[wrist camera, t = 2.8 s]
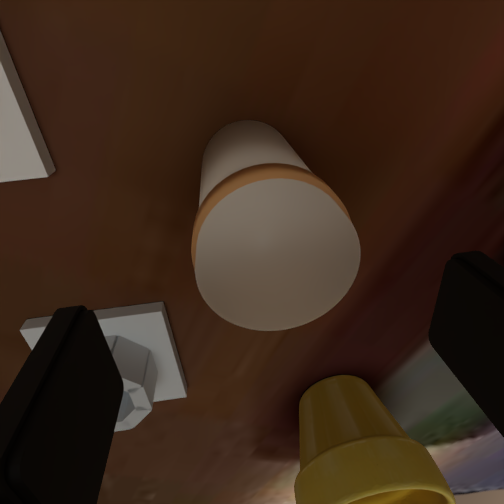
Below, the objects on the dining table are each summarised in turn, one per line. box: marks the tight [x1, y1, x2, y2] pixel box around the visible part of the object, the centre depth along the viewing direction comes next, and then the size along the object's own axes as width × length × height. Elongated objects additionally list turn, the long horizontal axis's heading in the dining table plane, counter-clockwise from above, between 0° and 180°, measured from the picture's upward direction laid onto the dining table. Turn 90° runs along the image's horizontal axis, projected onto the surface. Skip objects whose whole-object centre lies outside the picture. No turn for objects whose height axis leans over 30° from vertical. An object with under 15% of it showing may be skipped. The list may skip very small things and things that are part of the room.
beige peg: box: [191, 120, 361, 331], centre depth 14 cm, size 5×5×10 cm
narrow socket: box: [20, 302, 187, 432], centre depth 23 cm, size 9×9×4 cm
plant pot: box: [294, 375, 456, 504], centre depth 26 cm, size 10×10×10 cm
